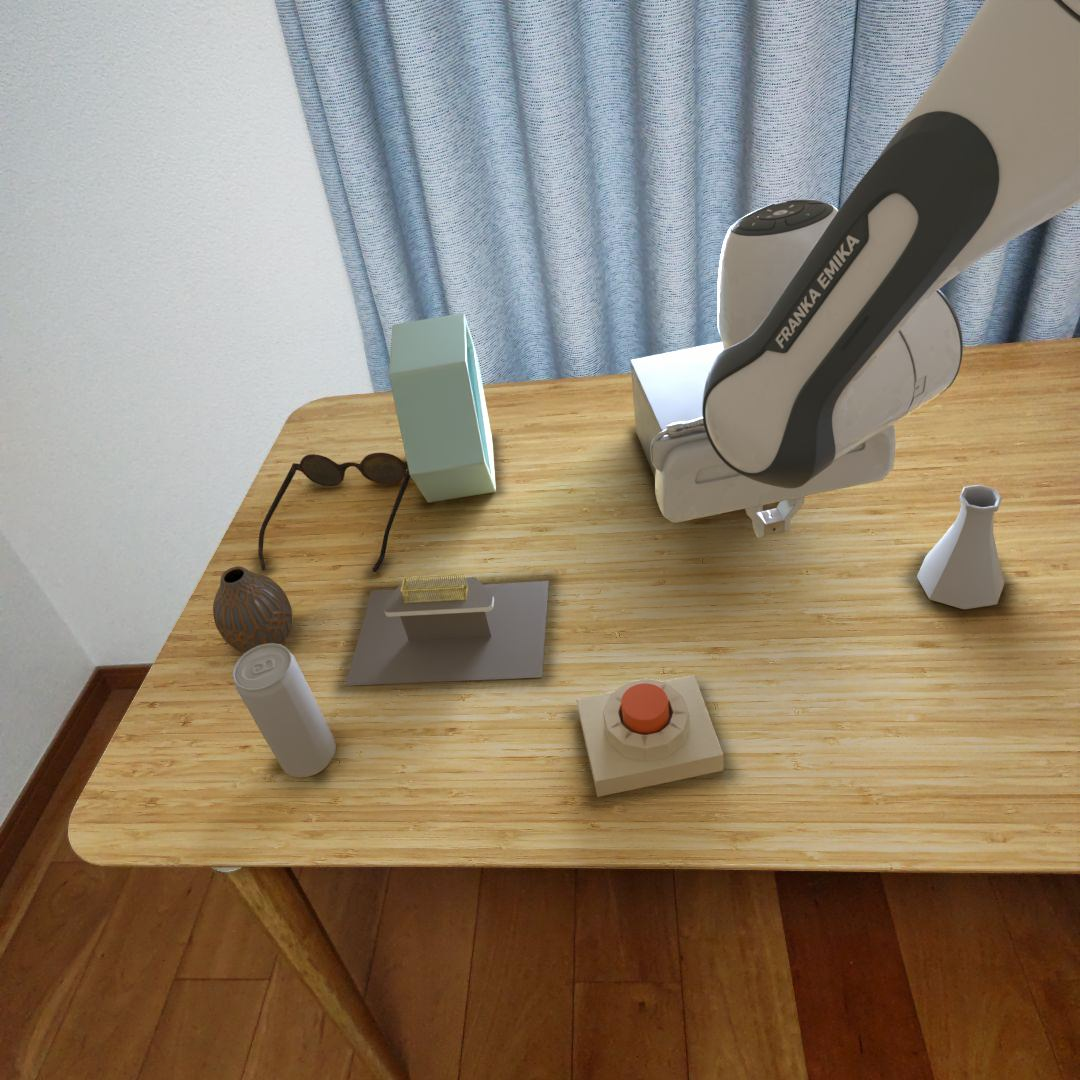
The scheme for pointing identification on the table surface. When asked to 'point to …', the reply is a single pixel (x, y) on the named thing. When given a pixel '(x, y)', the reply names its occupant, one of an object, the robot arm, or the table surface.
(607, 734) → the block
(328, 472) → the eyeglasses
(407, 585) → the platform
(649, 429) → the single drawer cabinet
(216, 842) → the table surface
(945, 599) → the flask
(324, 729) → the beverage can
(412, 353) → the planter
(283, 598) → the vase
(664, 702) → the button
